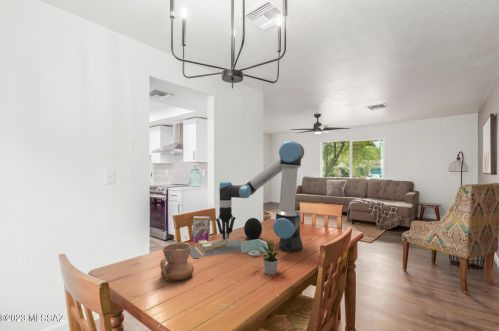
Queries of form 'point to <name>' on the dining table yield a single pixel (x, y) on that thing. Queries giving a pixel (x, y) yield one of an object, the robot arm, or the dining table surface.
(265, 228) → the dining table surface
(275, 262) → the house plant
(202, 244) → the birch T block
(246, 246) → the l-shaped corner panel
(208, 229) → the candy bar box
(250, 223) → the decorative egg
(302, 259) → the dining table surface
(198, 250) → the board
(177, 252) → the ceramic jug
